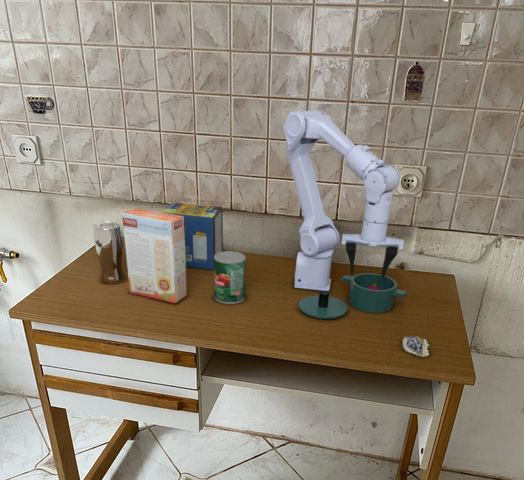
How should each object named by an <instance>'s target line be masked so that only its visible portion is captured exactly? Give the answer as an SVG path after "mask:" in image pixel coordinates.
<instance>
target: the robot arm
mask: <svg viewBox="0 0 524 480" xmlns="http://www.w3.org/2000/svg"><path fill="white" fill-rule="evenodd" d="M282 130H283V133H284V137H285V141H286V142H285V143H286V146H285V147H286V149H285V150H286V151H285V152H286V156H287V160H288V164H289V168H290V171H291V176H292V179H293V183H294V186H295V187H294V188H295V191H296V194H297V198H298V201H299V205H300V209H301V213H302V217H303V222H302V224H301V226H300V227H299V229H298V233H299V235H300V237H299V246H300V249H301V251H298V252H297V256H296V262H295V263H296V264H295V272H294V286H293V287H294V288H295V289H304V290H312V291H313V290H314V291H328V292H330V289H331V282H332V279H331V278H330V277H331V268H332V259H333V254H334V252H335V249H336V248H338V246H339V244H340V240H341V245H345V251H346V254H347V257H348V260H349V267H350V272H349V273H350V274H351V275H353V274H354V271H355V259H356V253H357V246H367V247H378V248H385V253H384V259H383V265H382V268H381V275H382V277H385V276H386V274H387V271H388V269H389V267H390V266H391V264H392V262H393V261H394V259H395V258H396V257H397V255H398V254H399V250H400V251H402V250H404V244H405V241H404V239H401V238H395V237H390V236H387V230H388V223H389V219H390V214H391V206H392V200H393V194H394V191H395V190H396V189H397V188H398V187H399V186H400V182H401V175H400V172H399V170H398V169H397V168H396V166H395V165H394V164H386V163H385V161H384V160H383V159H379V158H378V157H377V156H376V155H375V154H373V152H372V151H370V150H371V147H369V146H368V145H363V144H357V145H355V143H353V142H352V141H351V139H350V138H349V137H347V135H346V134H345V133H344V132H343V131H342V130H341V129H339V127H338V126H337V125H336V124H335V122H333V121H332V117H331V116H330V115H328V114H326V112H325V110H322V109H321V108H320V109H319V108H316V109H313V110H312V109H311V110H293V111H291V112H289V113H288V115H287V116H286V118H285V121H284V123H283V125H282ZM319 140H322V141H324V143H326V144H328V146H330V147H331V148H332V149H334V150H335V151H336V152H338V154H340V155H341V156H342V157H344V164H345V166H346V167H347V168H348V169H349V170H350V171H351V172H352V173H354V175H355V176H357V177H358V179H360V180H361V181H362V182H363V187H364V189H365V207H364V214H363V220H362V228H361V233H353V234H352V233H351V234H350V233H342V236H341V239H340V233H339V231H338V229H337V228H336V227H335V225H334V221H333V219H332V218H330V217H329V216H327V215H326V214H325V209H324V206H323V203H322V198H321V195H320V190H319V187H318V182H317V178H316V175H315V171H314V167H313V163H312V159H311V156H310V154H311V152H312V150H313V147H314V146H315V145H316V144H317V143H318V142H319Z"/></svg>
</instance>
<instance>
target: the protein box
mask: <svg viewBox="0 0 524 480" xmlns="http://www.w3.org/2000/svg"><path fill="white" fill-rule="evenodd" d="M223 211H224V210H223V207H222V206H216V205H215V206H213V205H203V204H194V203H193V204H192V203H181V202H172V203H170V204H169V205H168V206H166V207H165V208H164V209H162V210H161V211H160V212H161V213H167V214H173V215H179V216H184V233H185V258H186V268H194V269H203V270H210V271H214V255H215V254H217V253H219V252H224V240H223V239H224V236H223V235H224V234H223V233H224V232H223V229H224V226H223V225H224V224H223V223H224V222H223V221H224V218H223V217H224V214H223Z"/></svg>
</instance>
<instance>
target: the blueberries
mask: <svg viewBox="0 0 524 480" xmlns="http://www.w3.org/2000/svg"><path fill="white" fill-rule="evenodd" d="M401 341H402V348H403V349H404V351H405V352H408V353H409V354H413V355H415V356H417V357H421V358H425V357H428V356H429V355H430V353H429V352H430V351H429V350H428V349H429V348H430V347H429V343H430V342H429V341H428V339H425V338H421V337H419V336H417V335H410V336H409V337H408V336H403V337H402V340H401Z"/></svg>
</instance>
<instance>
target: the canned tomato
mask: <svg viewBox="0 0 524 480" xmlns="http://www.w3.org/2000/svg"><path fill="white" fill-rule="evenodd" d="M246 259H247V258H246V255H245V254H243V253H241V252H238V251H231V250H225V251H223V252H219V253H217V254H215V255H214V269H213V281H214V283H213V285H214V286H213V287H214V288H213V289H214V290H213V291H214V294H213V295H214V297H213V298H214V300H215V301H216V302H218V303H222V304H226V305H235V304H239V303H242V302H244V300H245V299H246V295H245V294H246V264H247V263H246Z"/></svg>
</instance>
